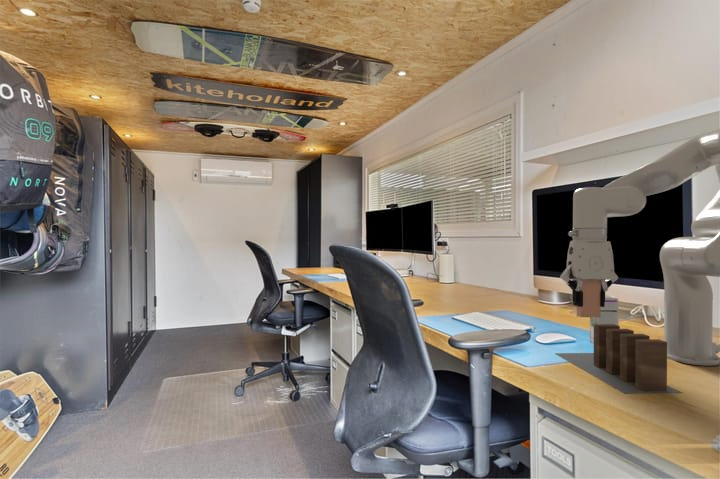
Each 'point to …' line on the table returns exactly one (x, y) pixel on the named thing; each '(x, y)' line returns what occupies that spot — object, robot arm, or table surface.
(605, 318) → the syrup box
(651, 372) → the domino
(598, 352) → the domino
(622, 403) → the table surface
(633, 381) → the domino
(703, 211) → the robot arm
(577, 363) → the mat
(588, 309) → the domino
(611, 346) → the domino
